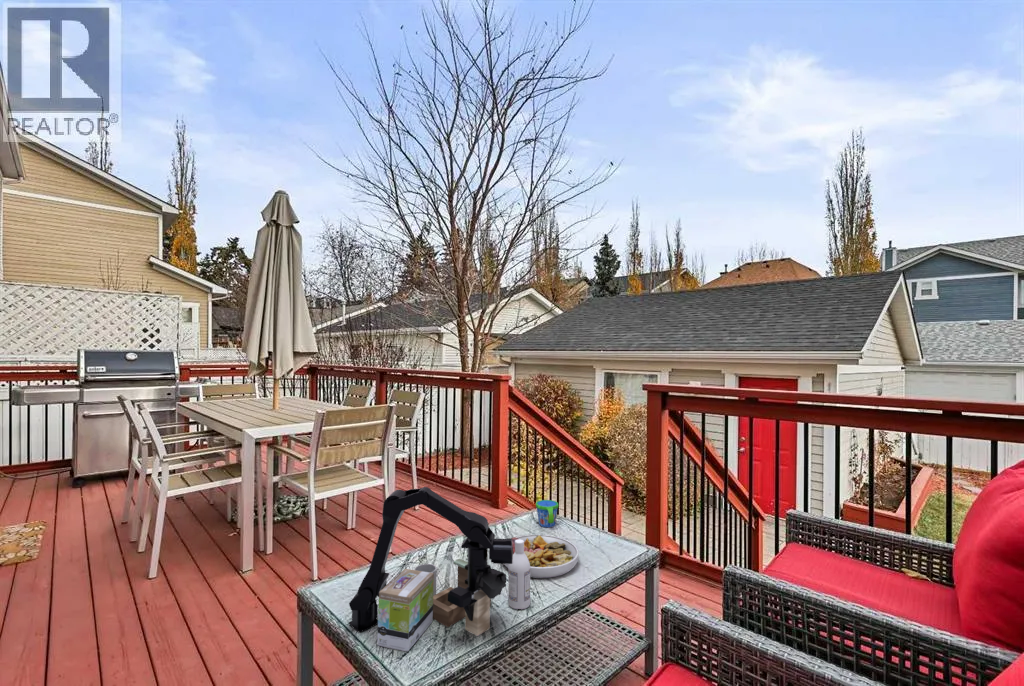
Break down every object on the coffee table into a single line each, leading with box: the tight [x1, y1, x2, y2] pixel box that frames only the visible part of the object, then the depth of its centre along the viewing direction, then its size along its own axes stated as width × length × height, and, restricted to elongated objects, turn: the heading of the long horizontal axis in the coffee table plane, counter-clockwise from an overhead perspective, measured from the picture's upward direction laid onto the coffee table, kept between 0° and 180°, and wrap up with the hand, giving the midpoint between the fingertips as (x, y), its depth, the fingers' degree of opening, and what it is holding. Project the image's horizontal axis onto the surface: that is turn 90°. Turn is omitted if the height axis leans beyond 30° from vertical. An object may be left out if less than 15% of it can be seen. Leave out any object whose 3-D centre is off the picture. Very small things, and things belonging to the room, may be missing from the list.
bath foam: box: [507, 539, 531, 610], centre depth 146 cm, size 7×7×20 cm
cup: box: [413, 563, 438, 596], centre depth 152 cm, size 7×10×9 cm
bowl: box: [503, 534, 579, 579], centre depth 176 cm, size 30×30×8 cm
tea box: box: [376, 568, 434, 652], centre depth 131 cm, size 15×10×15 cm
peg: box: [464, 590, 491, 637], centre depth 133 cm, size 5×5×10 cm
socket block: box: [433, 558, 492, 628], centre depth 143 cm, size 16×15×11 cm
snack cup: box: [535, 499, 559, 528], centre depth 214 cm, size 16×10×10 cm
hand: (477, 616), depth 133 cm, fingers closed on peg, 5 cm apart
